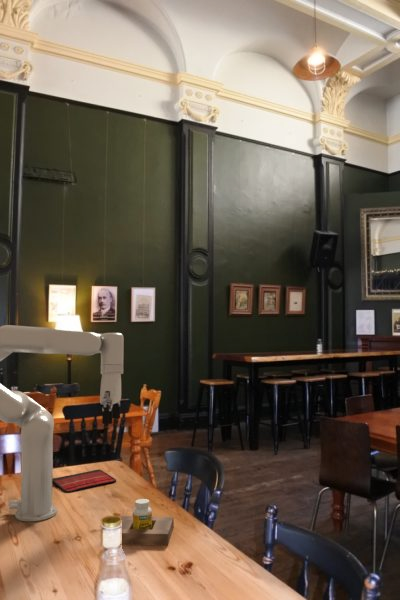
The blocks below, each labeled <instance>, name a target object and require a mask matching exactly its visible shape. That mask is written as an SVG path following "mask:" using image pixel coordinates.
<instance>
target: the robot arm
mask: <svg viewBox="0 0 400 600" xmlns="http://www.w3.org/2000/svg"><path fill="white" fill-rule="evenodd" d="M124 341H125V339H124V335H123V333H121V332H103V333H99V332H98V333H97V332H93V331H79V330H78V331H77V330H64V329H56V328H51V327H41V326H26V325H12V324H11V325H10V324H5V325H1V326H0V362H2V361H3V360H4V359H6V358H7V357H8V356H10V355H11V354H13V353H28V354H29V353H30V354H46V355H52V354H54V355H56V354H59V355H60V354H61V355H77V356H93V355H96V354H100V375H101V381H100V390H99V391H100V393H99V403H100V405H101V407H102V409H101V410H102V416H101V418H102V420H101V421H102V422H101V423H102V424H103V425H107V424H108V425H111V424H113V420H114V419H118V420H119V419H120V418H121V400H122V374H124V347H125V346H124ZM0 421H1V422H3V423H6V424H15V425H16V426H18V427H19V428H20V429H21V431H20V447H21V449H20V450H21V453H20V454H21V462H20V463H21V464H20V466H21V467H20V468H21V469H20V470H21V471H20V477H21V479H20V499H19V500H18V499H17V500H16V499H11V500H9V502H8V507H9V509H15V510H16V511H15V515H14V516H15V519H16V520H18V521H21V522H39V521H43V520H48V519H50V518H52V517H54V516H55V515H56V514H57V513H58V508H57V506H56V505H54V504H53V483H52V479H53V477H54V476H53V474H54V473H53V472H54V471H53V470H54V469H53V468H54V467H53V464H54V463H53V460H54V459H53V455H54V449H53V448H54V444H53V443H54V438H53V437H54V427H55V419H54V416H53V415H52V413H50V412H49V411H48V410H47V409H46V408H44V407H43V406H42V405H40V403H38V402H36V401H35V400H34V399H33V398H31V397H30V396H29V395H27V394H26V393H24V392H22V391H19V390H10V389H9V388H8V387H6V386H5V385H3V384H2V383H1V382H0Z"/></svg>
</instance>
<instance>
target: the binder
mask: <svg viewBox="0 0 400 600" xmlns="http://www.w3.org/2000/svg"><path fill="white" fill-rule="evenodd" d="M115 483H117V479H116V478H115V477H113V476H111V475H110V474H108V473H107V472H105V471H103V470H102V469H94V470H89V471H83V472H80V473H75V474H70V475H64V476H59V477H54V478H53V477H52V484H55V485H54V487H56V488H57V489H58V490H60V491H62V492H63V493H65V494H71V493H75V492H78V491H82V490H83V491H84V490H87V489H92V488H96V487H99V486H106V485H111V484H115Z"/></svg>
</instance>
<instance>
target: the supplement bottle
mask: <svg viewBox="0 0 400 600" xmlns="http://www.w3.org/2000/svg"><path fill="white" fill-rule="evenodd" d="M134 506H135V508H133V510H132V516H133V529H150V530H152V517H153V516H152V515H153V514H152V513H153V511H152V510H153V509H152V508H151V507H150V500H149V499H147V498H139V499H136V500H135V502H134Z"/></svg>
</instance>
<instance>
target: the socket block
mask: <svg viewBox="0 0 400 600" xmlns="http://www.w3.org/2000/svg"><path fill="white" fill-rule="evenodd" d="M119 517H120V518H121V520H122V544H121V545H126V546H127V545H129V546H131V545H132V546H134V545H135V546H169V544H170V540H171V538H172V534H173V531H174V527H175V526H174V524H175V523H174V516H152V530H150V529H133V515H131V516H130V515H129V516H128V515H120V516H119Z"/></svg>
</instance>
